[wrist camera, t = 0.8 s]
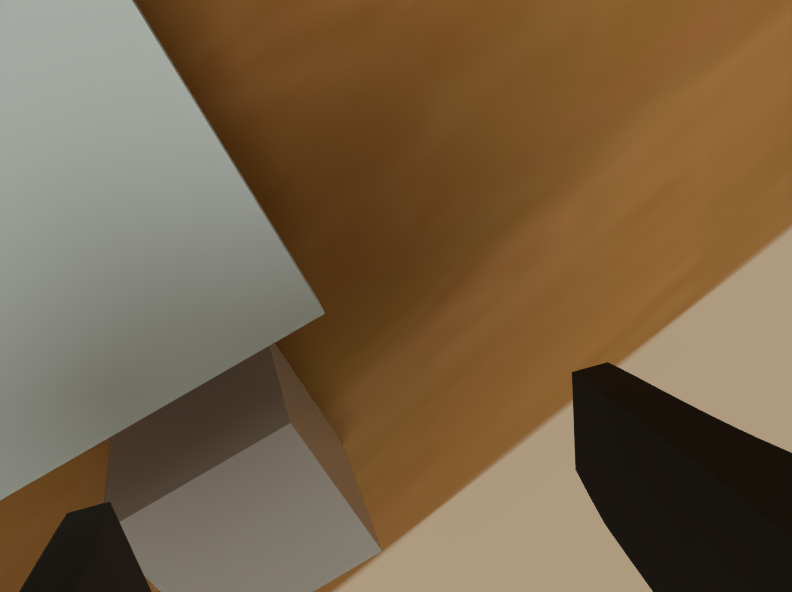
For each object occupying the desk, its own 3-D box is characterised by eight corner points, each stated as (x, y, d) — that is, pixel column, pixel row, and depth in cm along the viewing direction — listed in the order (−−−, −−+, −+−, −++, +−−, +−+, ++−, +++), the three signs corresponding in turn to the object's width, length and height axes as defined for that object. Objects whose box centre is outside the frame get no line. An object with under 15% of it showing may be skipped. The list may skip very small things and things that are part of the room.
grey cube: (206, 520, 24) (217, 648, 20) (113, 413, 21) (100, 532, 17) (342, 441, 24) (382, 550, 20) (264, 327, 22) (290, 423, 17)
